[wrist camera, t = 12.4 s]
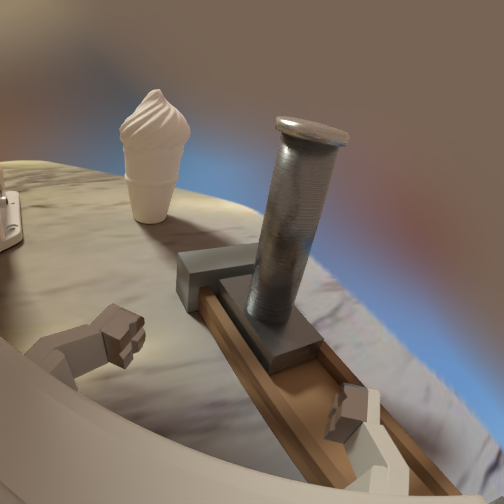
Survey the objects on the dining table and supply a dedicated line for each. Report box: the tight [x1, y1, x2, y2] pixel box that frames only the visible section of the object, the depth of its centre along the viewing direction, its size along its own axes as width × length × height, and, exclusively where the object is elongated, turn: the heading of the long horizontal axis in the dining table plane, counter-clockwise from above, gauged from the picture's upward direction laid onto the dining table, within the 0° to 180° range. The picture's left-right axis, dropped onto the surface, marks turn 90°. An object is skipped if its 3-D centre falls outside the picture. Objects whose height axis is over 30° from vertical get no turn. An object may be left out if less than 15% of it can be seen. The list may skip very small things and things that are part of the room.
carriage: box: [217, 116, 350, 376], centre depth 20 cm, size 8×4×15 cm, turn 29°
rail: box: [176, 243, 504, 504], centre depth 18 cm, size 32×8×4 cm, turn 29°
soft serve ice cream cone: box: [120, 89, 190, 224], centre depth 35 cm, size 8×8×16 cm
